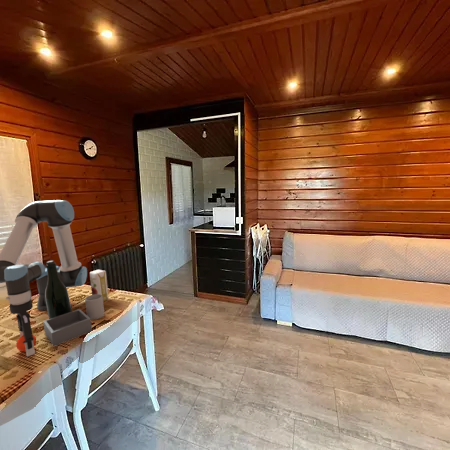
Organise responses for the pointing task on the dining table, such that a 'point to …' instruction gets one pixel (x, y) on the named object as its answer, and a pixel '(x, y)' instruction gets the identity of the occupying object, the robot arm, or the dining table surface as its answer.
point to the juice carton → (99, 283)
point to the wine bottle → (56, 293)
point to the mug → (94, 306)
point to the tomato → (21, 345)
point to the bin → (67, 327)
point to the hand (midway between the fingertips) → (28, 349)
